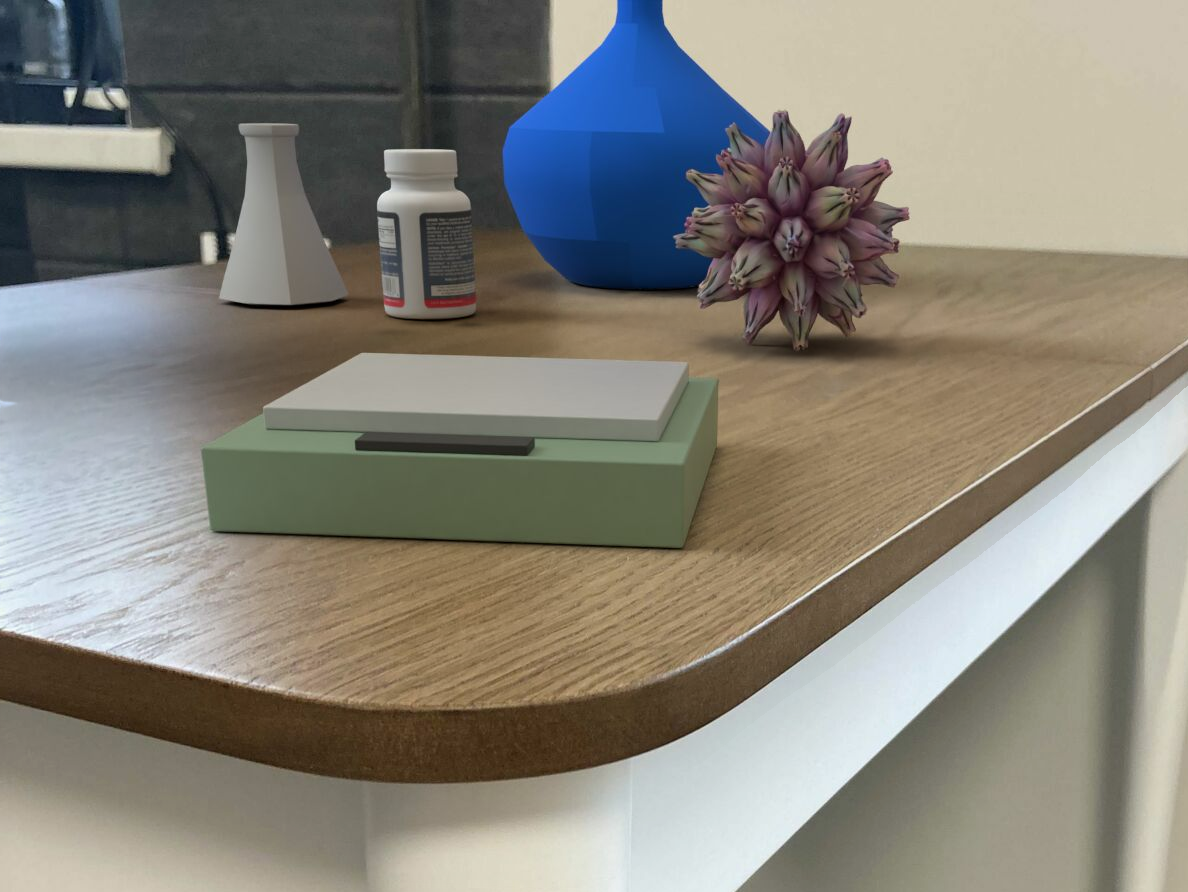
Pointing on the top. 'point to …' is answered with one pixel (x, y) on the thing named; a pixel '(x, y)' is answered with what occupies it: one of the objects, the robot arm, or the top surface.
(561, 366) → the scale
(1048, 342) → the top surface
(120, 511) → the top surface
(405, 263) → the pill bottle
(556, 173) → the vase
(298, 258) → the flask
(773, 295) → the flower
